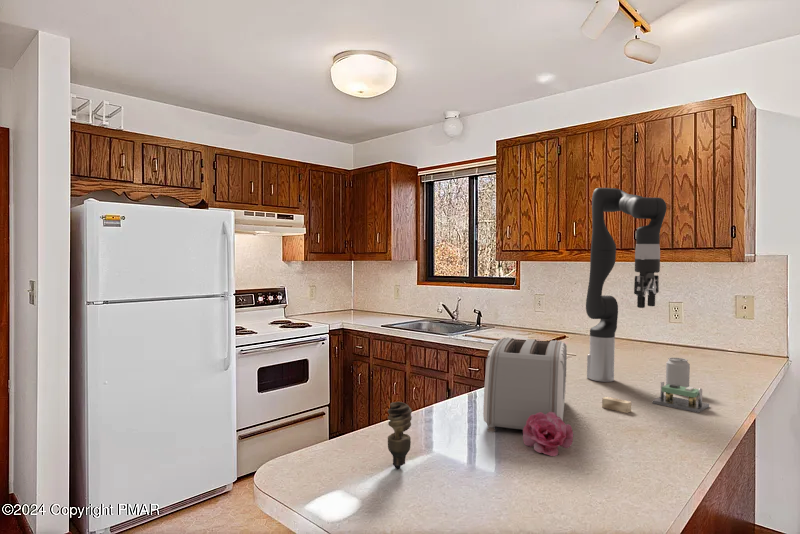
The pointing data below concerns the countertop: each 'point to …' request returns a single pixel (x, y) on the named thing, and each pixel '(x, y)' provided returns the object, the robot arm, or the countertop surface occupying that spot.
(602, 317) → the robot arm
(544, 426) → the flower
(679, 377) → the can
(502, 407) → the toaster
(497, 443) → the countertop surface
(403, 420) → the light bulb
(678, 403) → the chassis
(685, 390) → the board
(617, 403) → the beige wooden block
